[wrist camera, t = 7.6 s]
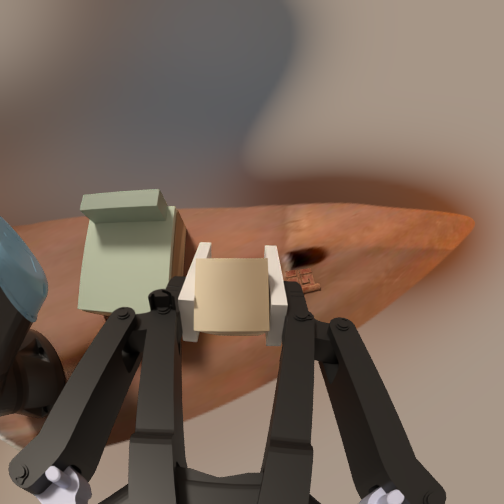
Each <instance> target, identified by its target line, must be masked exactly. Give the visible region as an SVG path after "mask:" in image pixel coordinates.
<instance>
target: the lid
mask: <svg viewBox="0 0 504 504" xmlns="http://www.w3.org/2000/svg"><path fill="white" fill-rule="evenodd" d="M80 211H81V212H82V213H83V214H84V215H86V216H87V217H88V218H89V219H90V221H89V226H88V231H87V237H86V242H85V249H84V255H83V262H82V269H81V278H80V287H79V299H78V309H81V310H89V311H98V312H109V313H112V312H113V311H114V310H116V309H118V308H121V307H130V308H132V309H133V310H135V314H141V313H147V312H150V306H149V300H148V295H149V294H150V293H151V292H152V291H155V290H157V289H166V287H167V284H168V282H169V280H170V279H171V271H172V256H173V243H174V231H175V220H176V211H177V210H176V208H175V206H168V205H167V203H166V201H165V199H164V198H163V195H162V193H161V191H160V189H151V190H135V191H121V192H110V193H99V194H88V195H83V199H82V203H81V207H80Z"/></svg>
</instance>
